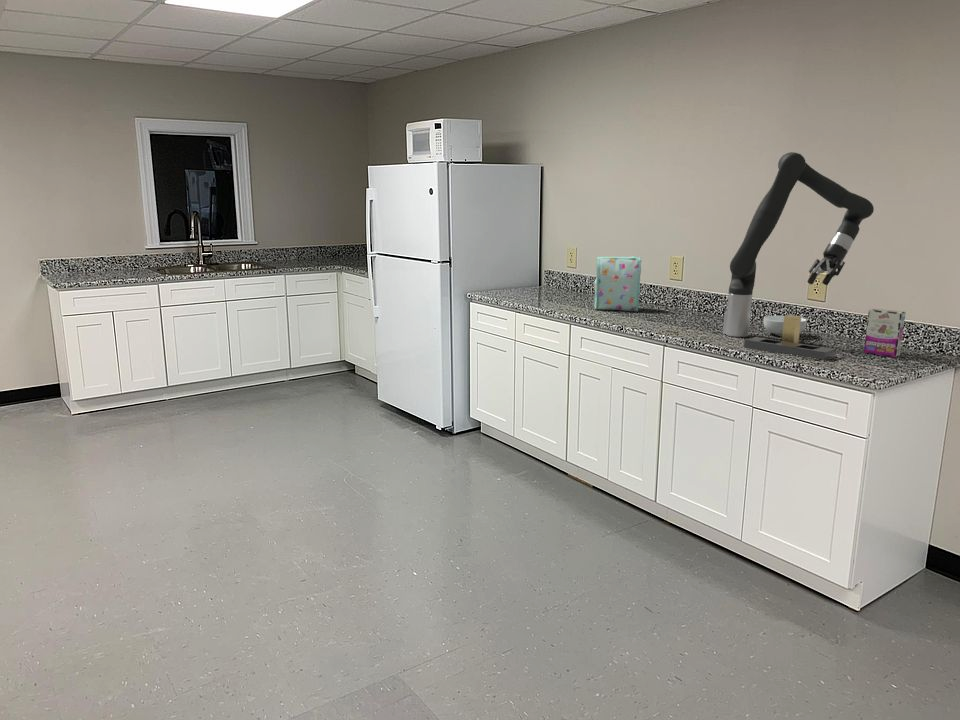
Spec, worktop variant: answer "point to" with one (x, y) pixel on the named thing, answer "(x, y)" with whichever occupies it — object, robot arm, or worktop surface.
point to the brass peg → (791, 328)
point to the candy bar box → (884, 332)
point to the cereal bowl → (779, 324)
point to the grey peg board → (789, 348)
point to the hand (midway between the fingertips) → (816, 283)
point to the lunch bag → (617, 283)
